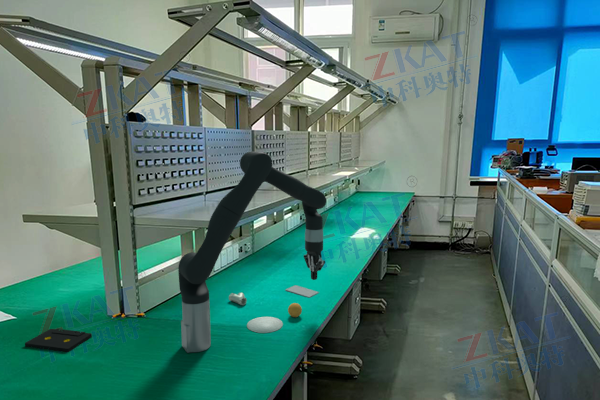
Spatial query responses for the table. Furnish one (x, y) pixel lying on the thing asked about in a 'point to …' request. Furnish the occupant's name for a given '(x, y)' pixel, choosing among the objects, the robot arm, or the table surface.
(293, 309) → the ball
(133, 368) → the table surface
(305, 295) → the smartphone
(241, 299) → the pipe fitting
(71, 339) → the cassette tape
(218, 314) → the table surface
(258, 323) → the disc
